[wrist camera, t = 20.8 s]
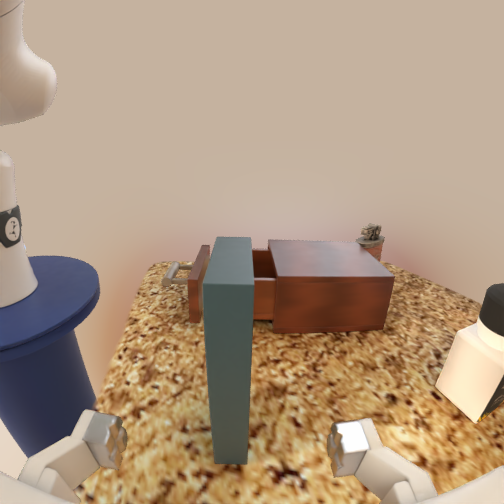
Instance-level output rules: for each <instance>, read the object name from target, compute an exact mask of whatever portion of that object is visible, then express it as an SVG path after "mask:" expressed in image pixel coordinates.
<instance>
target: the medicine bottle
mask: <svg viewBox="0 0 504 504" xmlns="http://www.w3.org/2000/svg"><path fill="white" fill-rule="evenodd" d="M435 387H436V388H437V389H438V390H439V391H440V392H441V393H442V394H444V395H445V396H446V397H447V398H448V399H449V400H450V401H451V402H452V403H453V404H454V405H455V406H457V407H458V408H459V409H460V410H461V411H462V412H463V413H464V414H465V415H466V416H467V417H468V418H469V419H471V420H472V421H473V422H474V423H476V424H477V423H479V422H480V421H481V420H482V419H484V418H485V417H486V416H487V415H489V414H490V413H491V412H492V411H493V410H495V409H496V408H497V407H498V406H499V405H500V404H501V403H503V402H504V284H503V283H502V284H494V285H492V286H491V287H489V288H488V289H487V292H486V295H485V298H484V301H483V304H482V308H481V311H480V314H479V317H478V320H477V323H475V324H473V325H471V326H468V327H466V328H464V329H461V330H459V331H457V333H456V336H455V338H454V341H453V344H452V346H451V349H450V351H449V354H448V357H447V359H446V361H445V364H444V366H443V369H442V371H441V373H440V375H439V378H438V380H437V382H436V385H435Z"/></svg>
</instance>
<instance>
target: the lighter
mask: <svg viewBox="0 0 504 504" xmlns="http://www.w3.org/2000/svg"><path fill="white" fill-rule="evenodd" d="M380 231H381V226H380V225H375V224H369V225H368V226H366V227H363V228H362V229H361V235H364V236H363V237H361V238H358V239H357V240H356V242H357V243H358V244H359V245H361V246H362V247H363V248H364V249H365V250H366V251H367V252H369V253H370V254H371V255H372V256H373V257H374V258H375V259H376V260H377V261H379V262H380V258H381V251H382V245H383V242H384V238H385V237H383V236H380V235H379V234H380Z"/></svg>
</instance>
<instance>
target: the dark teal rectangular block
mask: <svg viewBox="0 0 504 504" xmlns="http://www.w3.org/2000/svg"><path fill="white" fill-rule="evenodd" d="M202 289H203V314H204V335H205V352H206V368H207V383H208V396H209V408H210V420H211V431H212V441H213V451H214V460H215V463H216V464H247V457H248V434H249V410H250V386H251V362H252V337H253V311H254V272H253V258H252V244H251V238H250V237H217V238H216V241H215V244H214V248H213V251H212V254H211V257H210V261H209V264H208V267H207V270H206V274H205V277H204V280H203V284H202Z"/></svg>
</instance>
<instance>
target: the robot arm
mask: <svg viewBox="0 0 504 504" xmlns="http://www.w3.org/2000/svg"><path fill="white" fill-rule="evenodd" d="M24 3H25V0H0V126H2V125H7V124H14V123H20V122H23V121H26V120H29V119H32V118H35V117H38V116H41V115H43V114H44V113H45V112H46V111H47V110H48V108H49V107H50V105H51V104H52V102H53V100H54V97H55V94H56V90H57V77H56V73H55V71H54V69H53V67H52V66H51V64H50V63H49V62H47V61H45V60H43V59H41V58H39V57H38V56H36V55H35V54H34V53H33V52H32V51H31V50H30V49H29V48H28V47H27V45H26V43H25V41H24V38H23V35H22V19H23V9H24ZM21 226H22V224H21V213H20V209H19V206H18V205H17V201H16V189H15V171H14V163H13V161H12V159H11V157H10V156H9V155H8V154H7V153H5V152H3V151H2V150H0V308H2V307H5V306H8V305H11V304H14V303H16V302H18V301H20V300H22V299H24V298H26V297H27V296H28V295H30V294H31V293H32V292H33V291H34V290H35V289H36V288H37V285H38V281H37V279H36V277H35V275H34V272H33V269H32V267H31V265H30V262H29V259H28V256H27V252H26V248H25V245H24V242H23V238H22V235H21ZM122 423H123V422H122V419H121V417H118V416H114V415H109V414H104V413H100V412H96V411H91V410H87V409H86V410H85V411H83V413H82V415H81V417H80V419H79V421H78V423H77V425H76V427H75V429H74V431H73V433H72V435H71V437H69V436H67V437H65V438H63V439H62V440H60V441H58V442H56V443H55V444H53V445H51V446H50V447H48V448H46V449H44V450H43V451H41V452H39V453H37V454H35V455H34V456H32V457H30V458H28V460H27V462H26V464H25V466H24V467H23V469H22V471H21V473H20V475H19V477H18V479H15V478H13V477H11V476H9V475H7V474H5V473H3V472H1V471H0V504H80V502H81V500H80V499H79V497H78V496H77V495H76V494H75V493H74V492H73V490H74V489H75V488H76V487H77V486H79V485H80V484H81V483H82V482H83V481H85V480H86V479H87V478H88V477H89V476H91V475H92V474H93V473H94V472H95V471H96V470H98V469H99V468H100V467H105V468H110V469H115V470H119V468H120V465H121V462H122V459H123V458H122V456H121V453H122V452H123V451H124V450H125V449H126V446H127V432H126V429H125V428H123V427H122ZM331 432H332V433H331V434H330V435H328V439H327V452H328V456H329V457H330V458H331V459H333V460H332V463H331V469H332V472H333V476H334V478H335V477H343V476H350V475H354V476H355V477H356V478H357V479H358V480H359V481H360V482H361V483H363V484H364V485H365V486H366V487H367V488H368V489H369V490H370V491H371V492H373V493H374V494H375V495H376V496H377V497H378V498H379V499H380V500H382V501H381V502H380V503H379V504H504V465H502V466H500V467H497V468H496V469H494V470H492V471H490V472H488V473H486V474H484V475H483V476H481V477H479V478H477V479H475V480H472V481H470V482H468V483H466V484H464V485H462V486H459V487H457V488H455V489H453V490H450V491H448V492H445V493H443V494H441V495H438V494H437V491H436V489H435V487H434V485H433V483H432V481H431V478H430V476H429V474H428V473H427V472H426V471H424V470H423V469H421V468H419V467H418V466H416V465H415V464H413V463H411V462H410V461H408V460H407V459H405V458H403V457H402V456H400V455H399V454H397V453H396V452H394V451H393V450H391V449H390V448H388V447H383V445H382V442H381V440H380V438H379V435H378V433H377V431H376V428H375V426H374V424H373V421H372V419H370V418H366V419H359V420H350V421H343V422H335V423H333V424H332V426H331Z"/></svg>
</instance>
